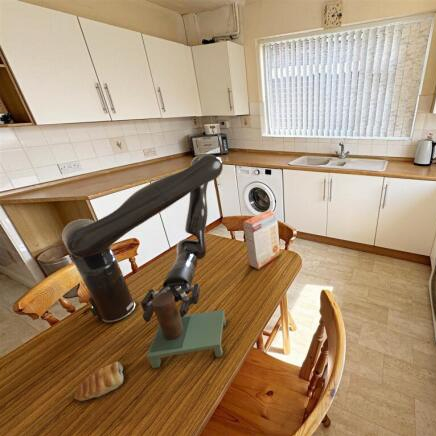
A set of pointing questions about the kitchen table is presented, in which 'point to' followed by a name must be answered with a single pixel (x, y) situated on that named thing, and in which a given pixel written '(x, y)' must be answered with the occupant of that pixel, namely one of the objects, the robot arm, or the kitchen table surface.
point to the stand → (190, 337)
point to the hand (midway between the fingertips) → (164, 317)
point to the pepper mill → (168, 315)
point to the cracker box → (262, 238)
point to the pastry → (100, 382)
